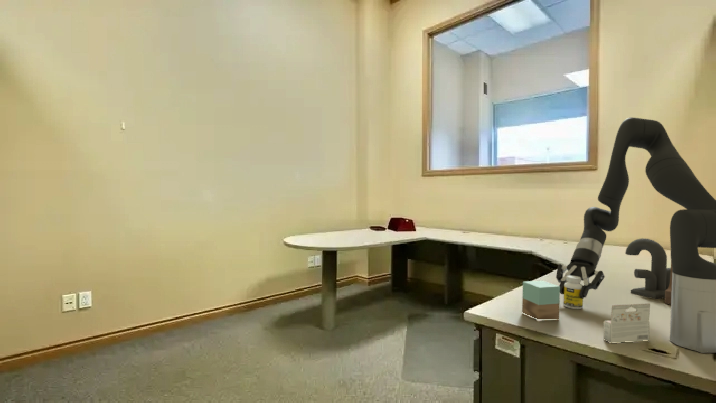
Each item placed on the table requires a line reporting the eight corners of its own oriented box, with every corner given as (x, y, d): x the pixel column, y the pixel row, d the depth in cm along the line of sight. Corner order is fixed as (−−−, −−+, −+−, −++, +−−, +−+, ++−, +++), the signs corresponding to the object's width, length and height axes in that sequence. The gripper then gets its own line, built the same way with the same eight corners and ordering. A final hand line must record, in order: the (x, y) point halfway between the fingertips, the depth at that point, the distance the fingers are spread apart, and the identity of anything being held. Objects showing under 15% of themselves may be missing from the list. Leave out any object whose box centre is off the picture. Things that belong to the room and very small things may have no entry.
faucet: (640, 284, 150) (641, 235, 150) (686, 294, 135) (688, 240, 135) (609, 288, 144) (611, 237, 143) (654, 299, 129) (656, 242, 128)
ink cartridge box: (602, 340, 93) (603, 302, 92) (640, 338, 94) (642, 300, 94) (610, 344, 90) (612, 305, 90) (649, 342, 92) (651, 303, 92)
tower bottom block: (559, 320, 107) (559, 303, 107) (538, 322, 105) (538, 304, 105) (541, 312, 114) (542, 296, 114) (522, 314, 112) (522, 297, 112)
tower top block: (559, 303, 107) (560, 286, 107) (538, 304, 105) (539, 287, 105) (542, 296, 113) (542, 280, 113) (522, 297, 112) (522, 281, 112)
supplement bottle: (563, 307, 118) (564, 277, 118) (563, 303, 123) (563, 274, 123) (583, 310, 116) (584, 279, 115) (582, 305, 120) (582, 276, 120)
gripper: (561, 244, 129) (544, 283, 122) (608, 250, 118) (593, 293, 111) (567, 258, 132) (551, 296, 125) (614, 264, 121) (599, 307, 114)
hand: (571, 294), depth 118 cm, fingers closed on supplement bottle, 5 cm apart
